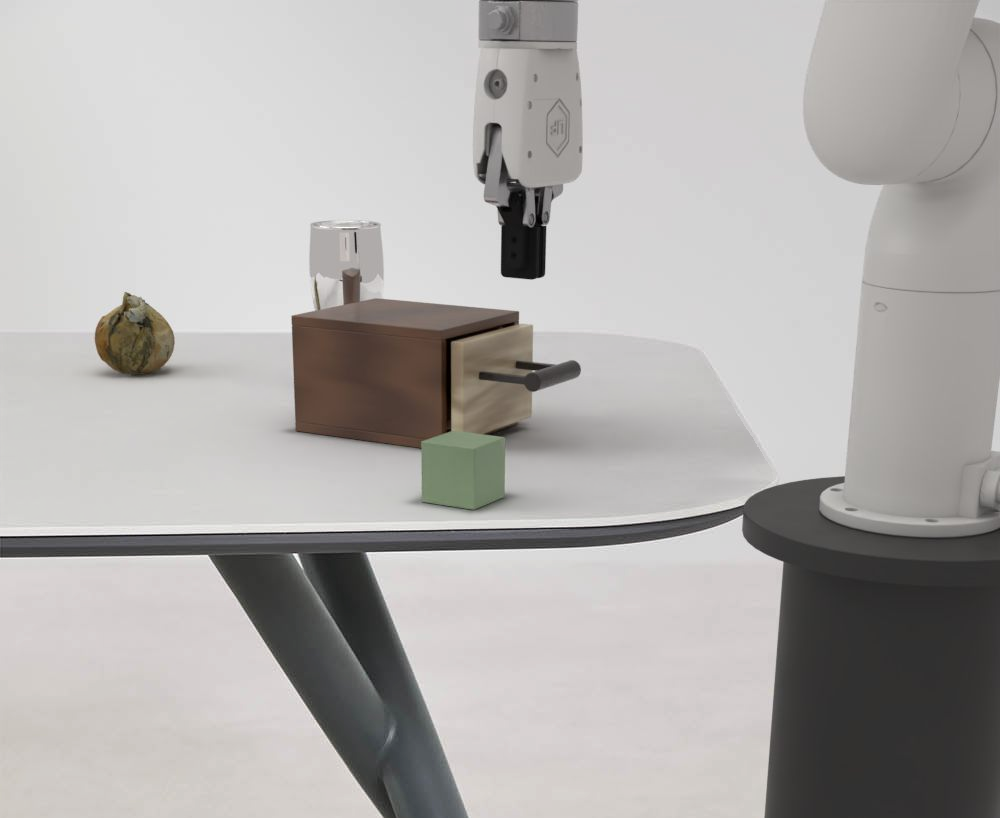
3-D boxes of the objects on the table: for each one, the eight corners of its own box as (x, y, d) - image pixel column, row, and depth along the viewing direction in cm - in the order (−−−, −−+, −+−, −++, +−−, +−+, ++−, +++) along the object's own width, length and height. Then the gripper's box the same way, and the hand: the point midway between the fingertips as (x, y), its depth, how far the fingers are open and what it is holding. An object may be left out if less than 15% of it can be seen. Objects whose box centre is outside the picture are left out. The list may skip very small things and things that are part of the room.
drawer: (591, 424, 144) (594, 330, 141) (525, 449, 135) (527, 349, 132) (400, 400, 153) (398, 311, 150) (326, 422, 144) (323, 328, 141)
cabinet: (518, 424, 149) (519, 311, 145) (441, 451, 138) (441, 330, 135) (377, 406, 155) (375, 298, 152) (295, 431, 145) (290, 315, 141)
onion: (194, 371, 171) (189, 289, 168) (132, 382, 165) (125, 297, 162) (144, 362, 175) (139, 282, 172) (82, 373, 170) (75, 290, 166)
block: (504, 497, 125) (505, 437, 123) (474, 510, 121) (474, 448, 119) (453, 489, 127) (453, 430, 125) (421, 502, 123) (420, 441, 121)
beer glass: (324, 395, 160) (319, 228, 154) (304, 382, 166) (299, 221, 160) (395, 390, 162) (393, 226, 157) (373, 377, 168) (370, 219, 163)
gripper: (523, 28, 122) (517, 292, 129) (616, 29, 134) (606, 271, 141) (433, 26, 125) (433, 283, 132) (532, 28, 137) (527, 264, 144)
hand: (522, 276), depth 137 cm, fingers closed
